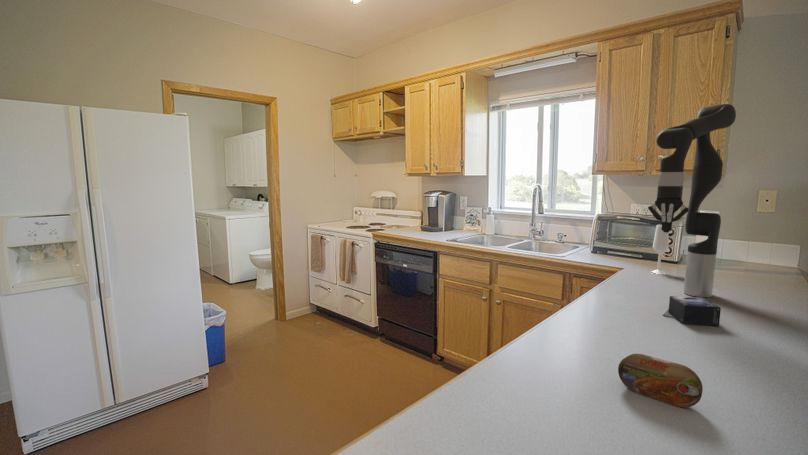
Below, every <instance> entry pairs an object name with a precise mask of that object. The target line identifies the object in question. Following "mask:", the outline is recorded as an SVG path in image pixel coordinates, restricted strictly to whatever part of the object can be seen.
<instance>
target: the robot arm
mask: <svg viewBox="0 0 808 455" xmlns="http://www.w3.org/2000/svg"><path fill="white" fill-rule="evenodd" d="M736 118H737V112H736V109H735V107H734V105H732V104H729V103H721V104H716V105H711V106H706V107H702V108H701V109H700V110H699V111H698V113H697V117H696V118H693V119H690V120H688V121H686V122H684V123H682V124H679V125H676V126H672V127H668V128H665V129H663V130H662V131H660V132H659V133H658V134H657V137H656V145H657V146H658V147H659V148H660V149H663V150H671V149H672V150H673V149H674V150H675V151H674V152H673V153H672V154H668V155H665V156H663V157H662V158H661V159H660V168H659V175H658V180H657V191H656V200H655V201H654V203H653V204H651V205H650V206H647V207H648V208H647V210H649V212H650V213H651V214H652V215H653V216H654V219H656V220H657V221H659V222H660V221H661V225H662V231H663V232H666V233H668V234H669V233H670V232H671V231H672V230H673V229H672V228H673V223H674V222H677V221H679V220H680V219H681V218H682V217H683V216H684V215H686V217H685V224H684V225H685V226H684V227H685V228H684V229H685V233H686V234H687V235H691V236H702V237H707V238H706V239H705V240H703V241H700V242H696V243H695V242H694V243H690V244H689V245H688V246H687V252H686V253H687V254H686V255H687V256H686V263H685V264H686V265H685V273H684V286H683V293H684V294H686V295H689V296H691V297H699V298H712V297H713V292H714V291H713V290H714V282H715V281H714V280H715V270H716V261H717V251H718V240H719V235H720V229H721V224H722V218H721V217H722V216H721V215H720V213H716V212H699V208H700V206H701V204H702V203H703V201H704V200H705V199H706V197H708V196H709V195H710V193H711V192H712V191H713V190H714V189H715V188H716V187H717V186H718V185H719V183H720V181H721V180H722V175H723V168H724V163H723V159H722V157H721V155H720V154H719V153H718V151H717V149H715V147H714V146H713V144H712V141H711V132H714V131H717V130H723V129H726V128H729V127H731V126H732V125H733V124H734V123H735V121H736ZM694 140H696V141H695V152H694V160H693V165H692V176H691V186H690V187H691V189H690V197H689V203H688V206H686V205H684V201H683V192H684V191H683V189H684V179H685V178H684V172H685V171H684V170H685V161H686V158H687V155H688V152H689V150H690V147H691V145H692V142H693V141H694ZM657 209H658V210H659V211H660V212H661V213H660V214H661V215H660V214H659V212H658V210H657ZM678 210H680V212H679V213H678V214H677V215H676V216H675V217H674V215H675V213H676V212H677V211H678Z"/></svg>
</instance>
